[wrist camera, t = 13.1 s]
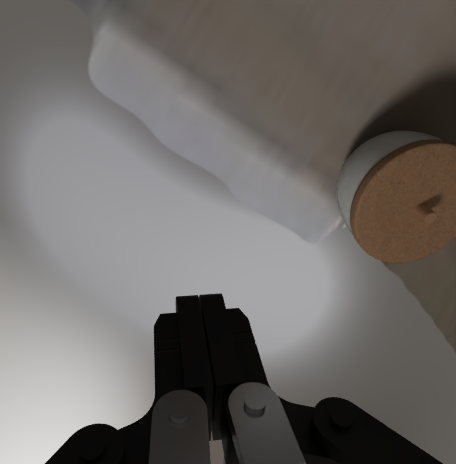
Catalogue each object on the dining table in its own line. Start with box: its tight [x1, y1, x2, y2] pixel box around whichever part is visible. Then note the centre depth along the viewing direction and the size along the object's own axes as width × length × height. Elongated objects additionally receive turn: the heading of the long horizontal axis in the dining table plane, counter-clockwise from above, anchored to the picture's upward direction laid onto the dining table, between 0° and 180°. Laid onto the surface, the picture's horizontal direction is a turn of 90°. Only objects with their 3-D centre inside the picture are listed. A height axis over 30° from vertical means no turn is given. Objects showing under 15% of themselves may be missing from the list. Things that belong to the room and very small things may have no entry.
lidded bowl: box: [336, 130, 456, 263], centre depth 41 cm, size 13×13×11 cm
